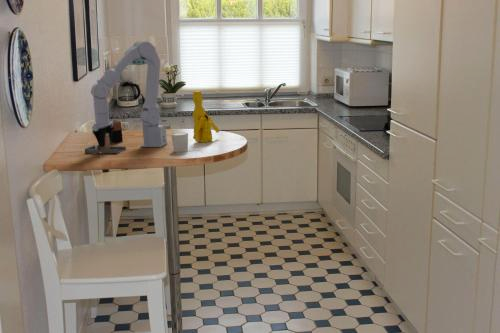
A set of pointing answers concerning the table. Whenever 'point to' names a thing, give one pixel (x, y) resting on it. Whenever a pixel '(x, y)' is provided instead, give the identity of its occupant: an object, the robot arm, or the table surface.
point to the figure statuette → (202, 121)
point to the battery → (116, 132)
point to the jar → (106, 142)
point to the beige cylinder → (180, 142)
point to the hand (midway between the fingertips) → (104, 145)
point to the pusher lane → (112, 150)
